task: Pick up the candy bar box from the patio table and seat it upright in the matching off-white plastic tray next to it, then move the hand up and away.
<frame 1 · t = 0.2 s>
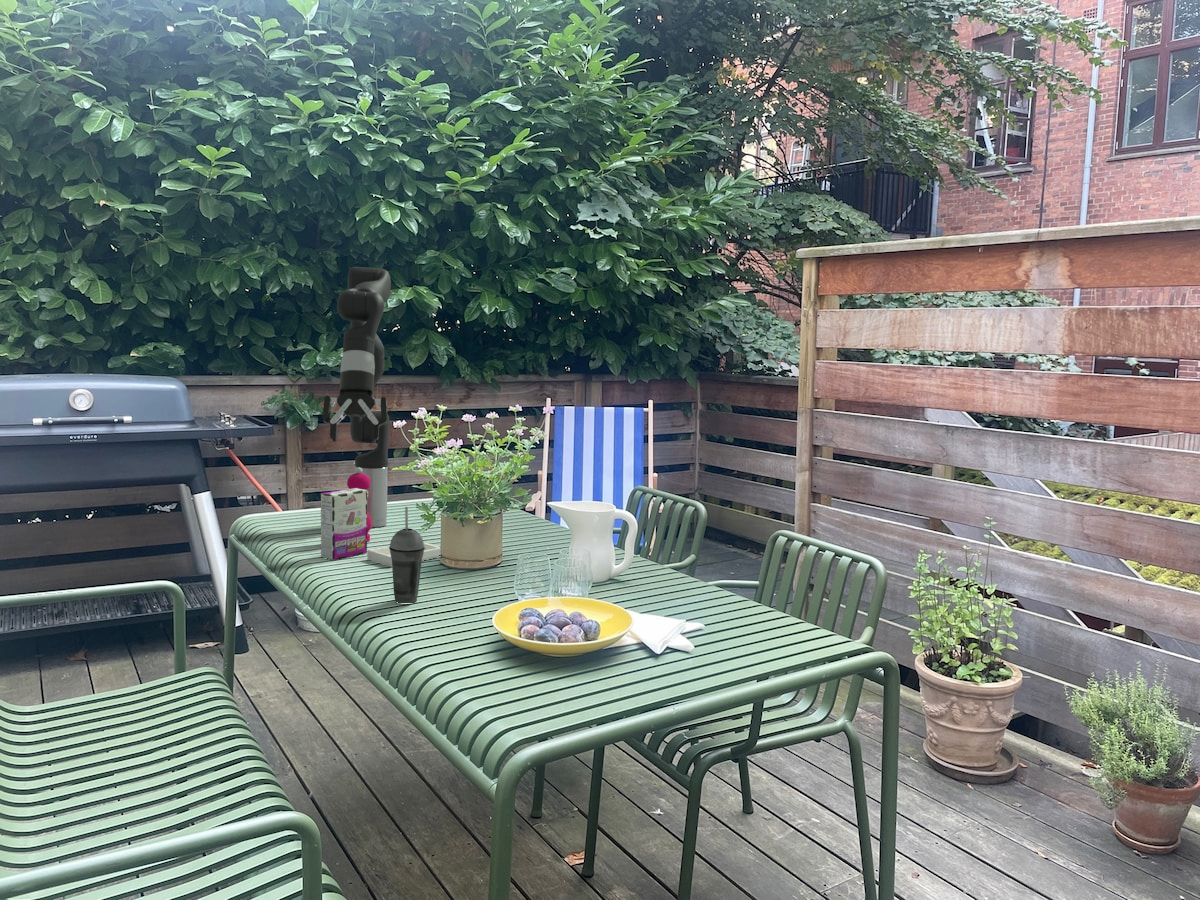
hand: (354, 441, 200), 31 cm above the table, tool tilted 20°, fingers open, 8 cm apart
candy bar box: (343, 556, 221), on the table
tray: (406, 558, 221), on the table
pepper mill: (357, 541, 237), on the table
beverage cup: (405, 602, 185), on the table
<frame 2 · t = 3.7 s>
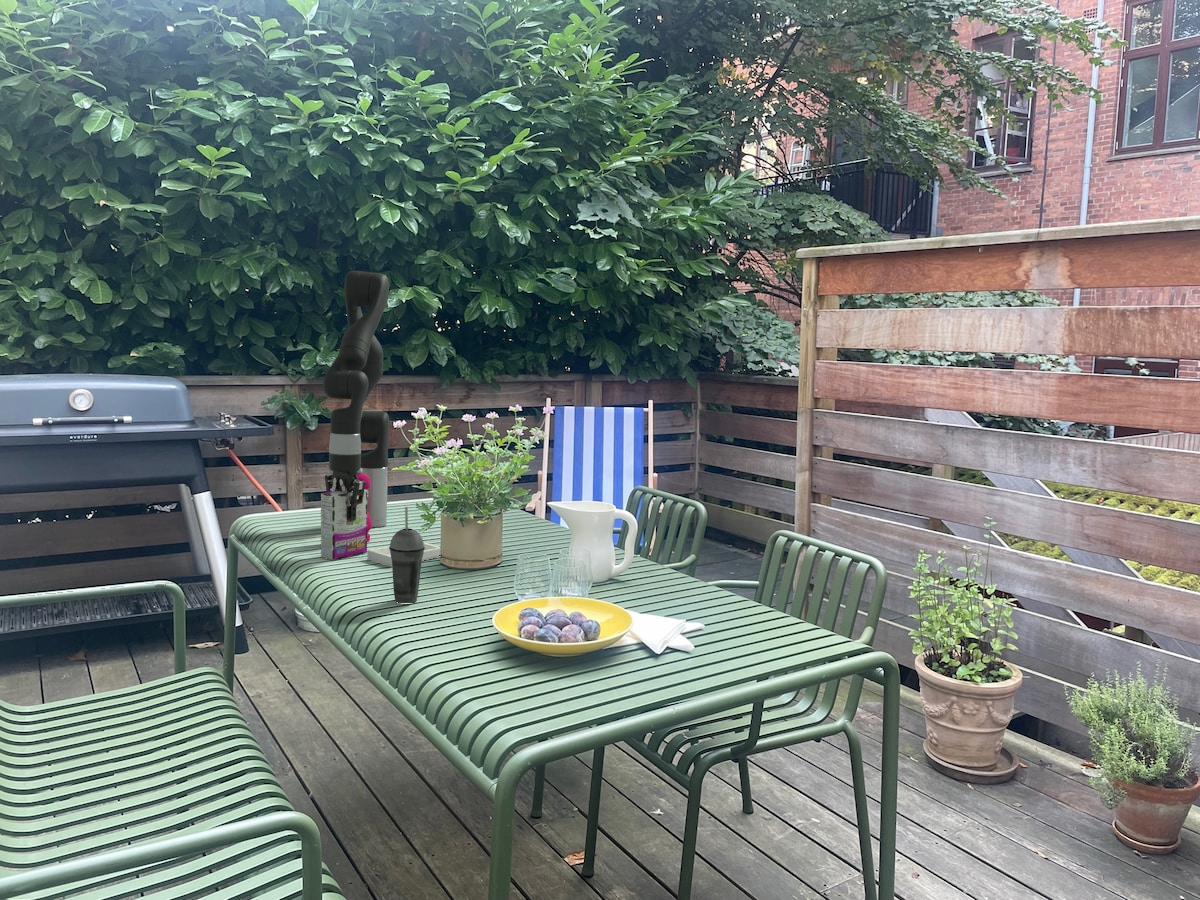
hand: (344, 518, 220), 9 cm above the table, tool pointing down, fingers closed on candy bar box, 5 cm apart
candy bar box: (343, 556, 221), on the table, touching gripper
everything else where it was.
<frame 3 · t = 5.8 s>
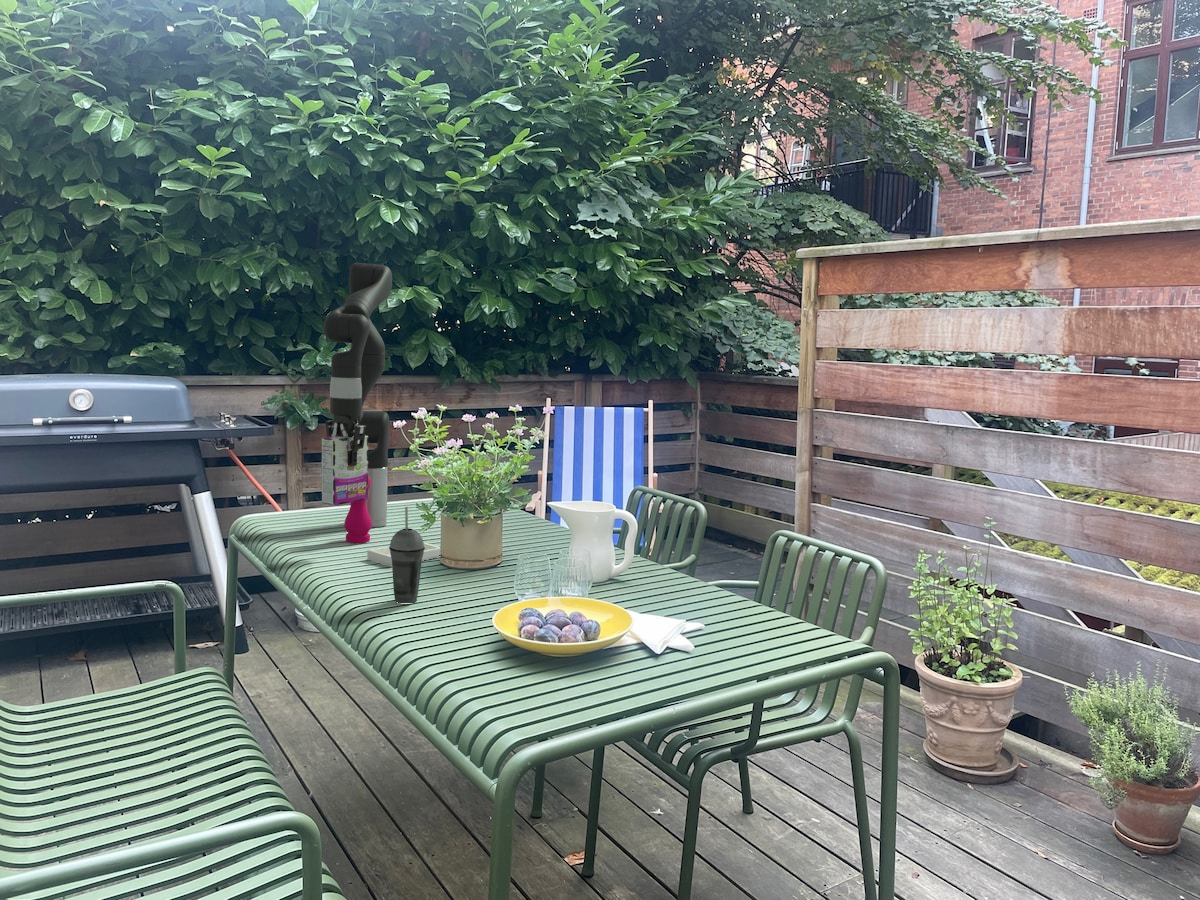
hand: (344, 463, 218), 23 cm above the table, tool pointing down, fingers closed on candy bar box, 5 cm apart
candy bar box: (344, 502, 220), point 13 cm above the table, touching gripper
everything else where it was.
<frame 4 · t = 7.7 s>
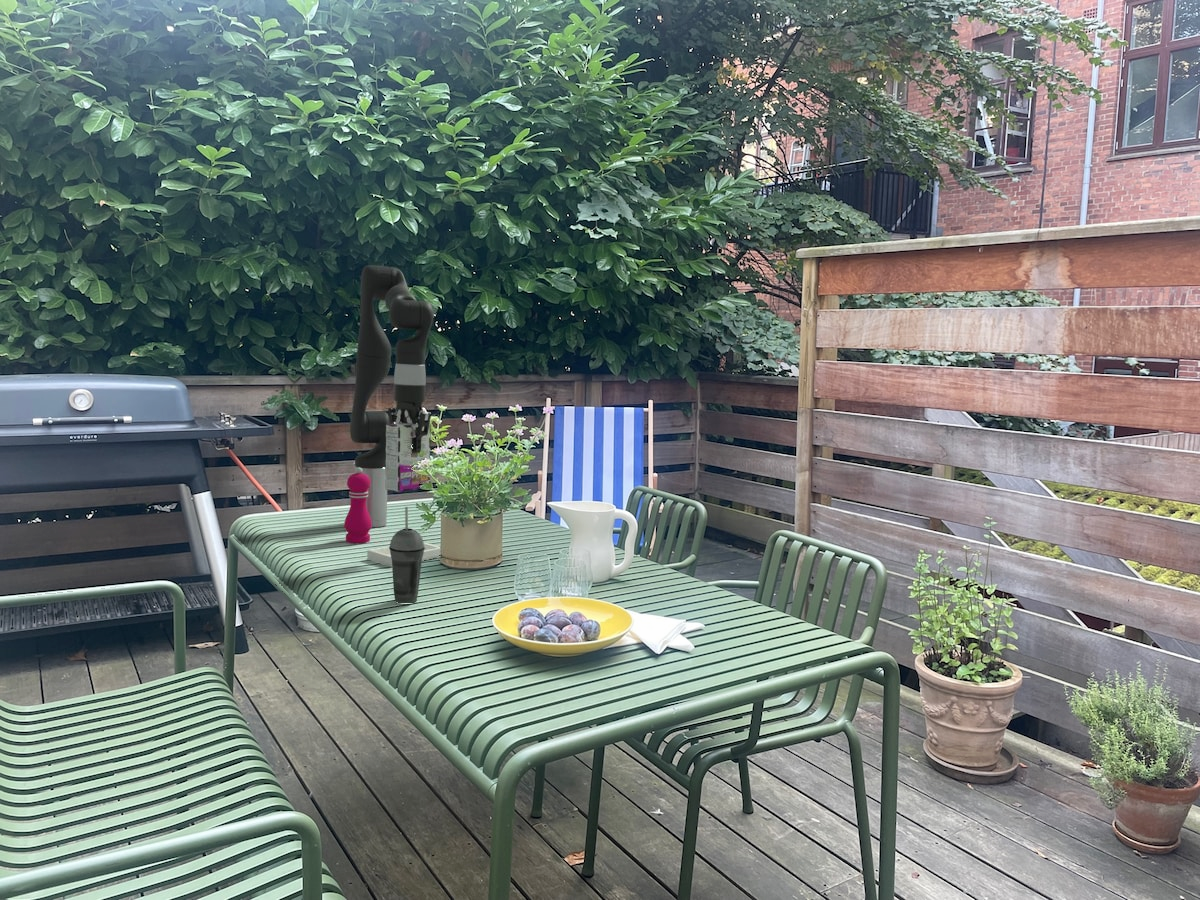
hand: (408, 451, 218), 27 cm above the table, tool pointing down, fingers closed on candy bar box, 5 cm apart
candy bar box: (407, 489, 219), point 17 cm above the table, touching gripper
everything else where it was.
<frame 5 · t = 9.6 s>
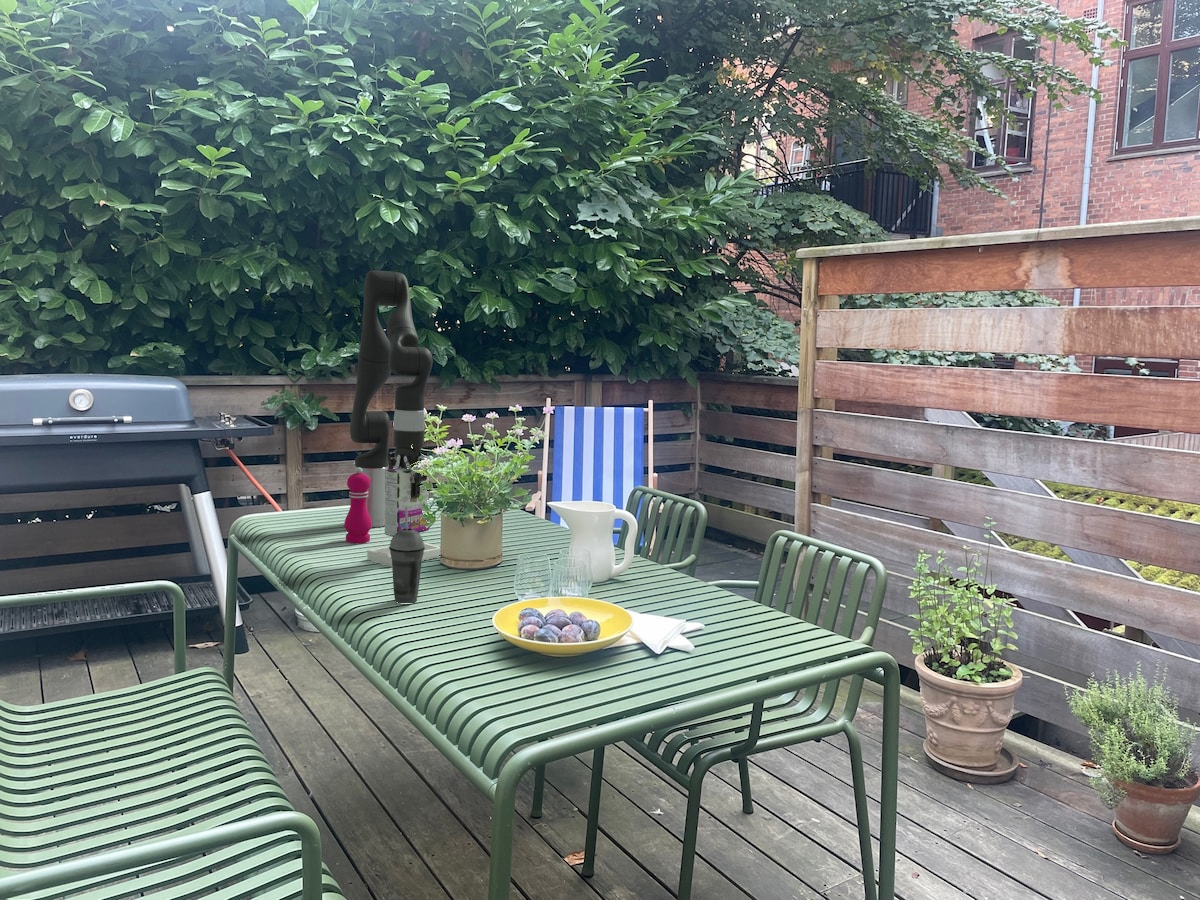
hand: (407, 495, 220), 16 cm above the table, tool pointing down, fingers closed on candy bar box, 5 cm apart
candy bar box: (406, 533, 221), point 6 cm above the table, touching gripper
everything else where it was.
when the fingers open (11 cm above the table, at t = 11.5 s): candy bar box drops 1 cm, resting on tray.
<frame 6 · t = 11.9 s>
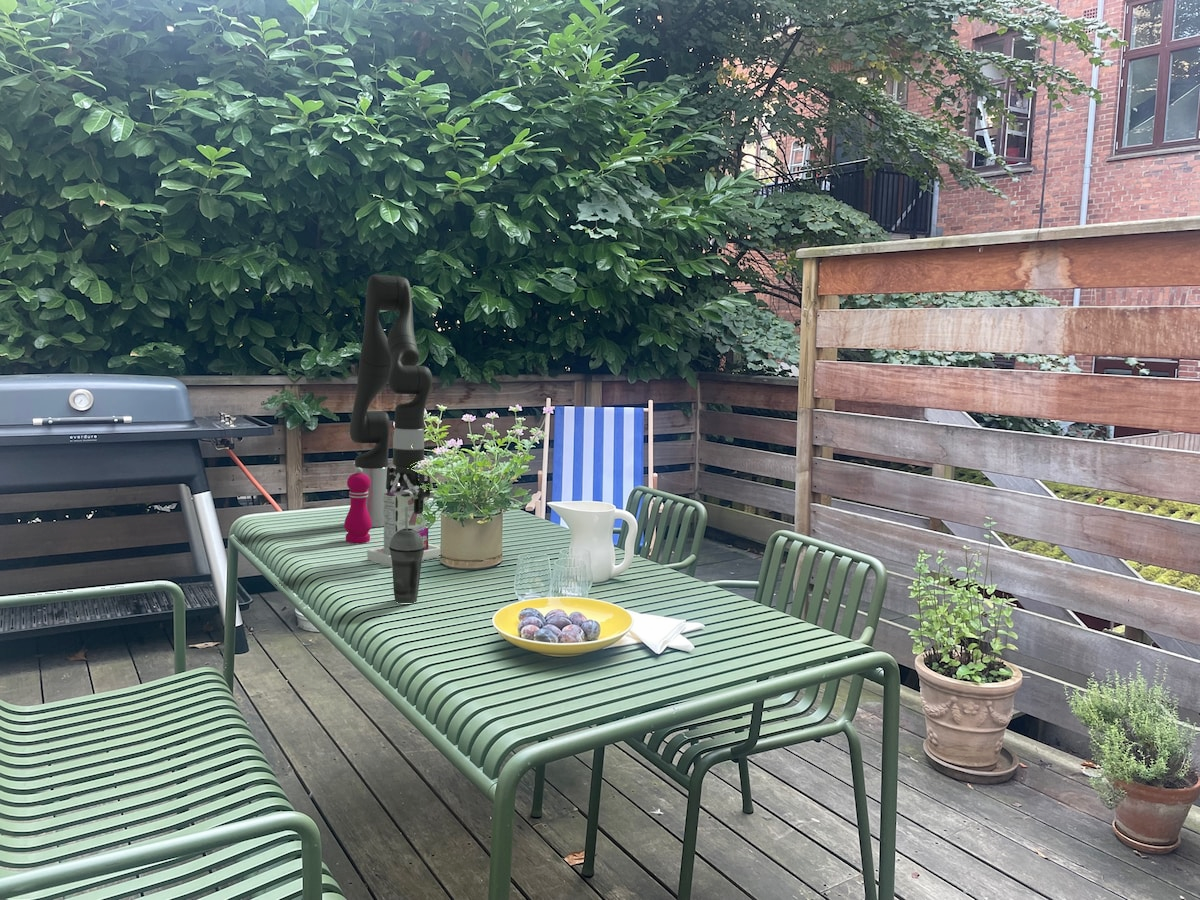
hand: (407, 510, 220), 12 cm above the table, tool pointing down, fingers open, 8 cm apart
candy bar box: (405, 556, 221), resting on tray
everything else where it was.
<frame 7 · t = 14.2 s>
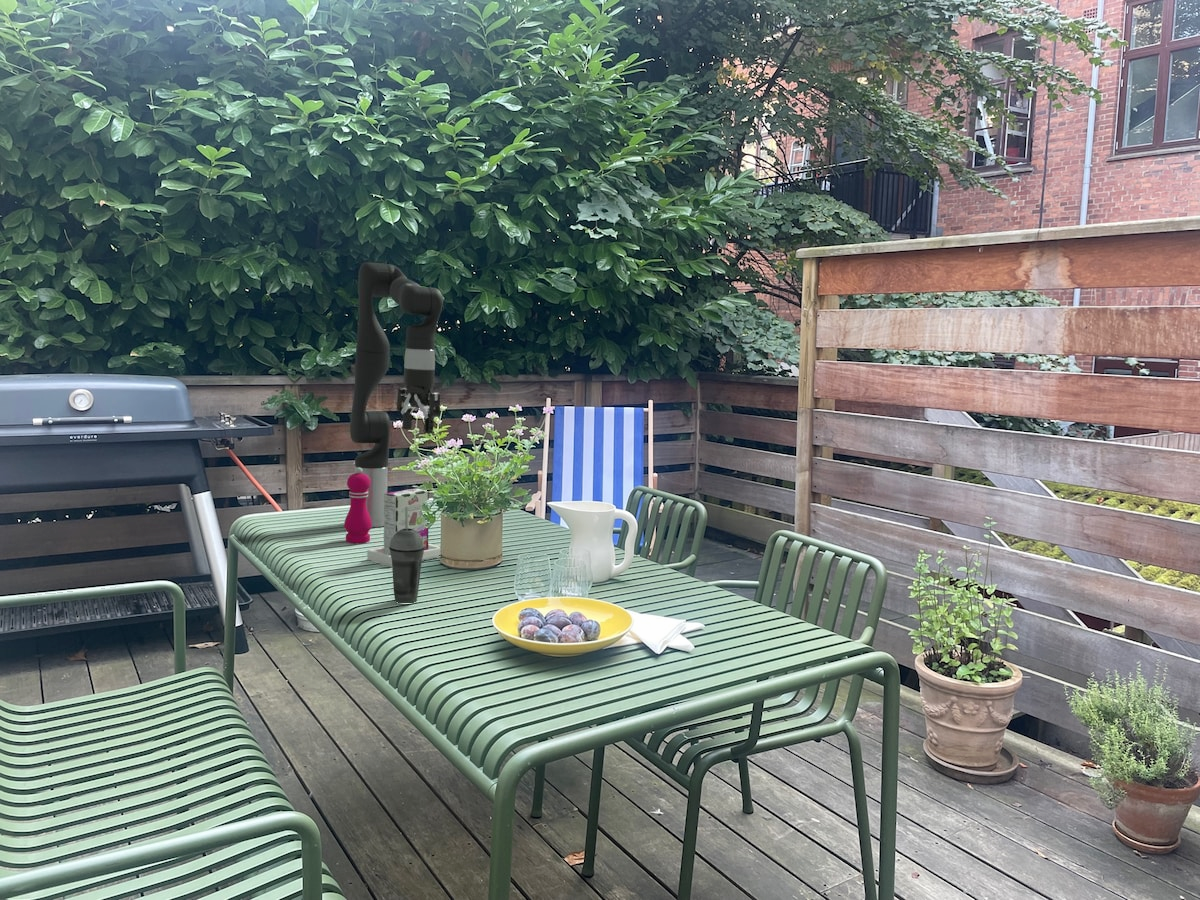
hand: (417, 431, 224), 32 cm above the table, tool pointing down, fingers open, 8 cm apart
nothing on the table moved.
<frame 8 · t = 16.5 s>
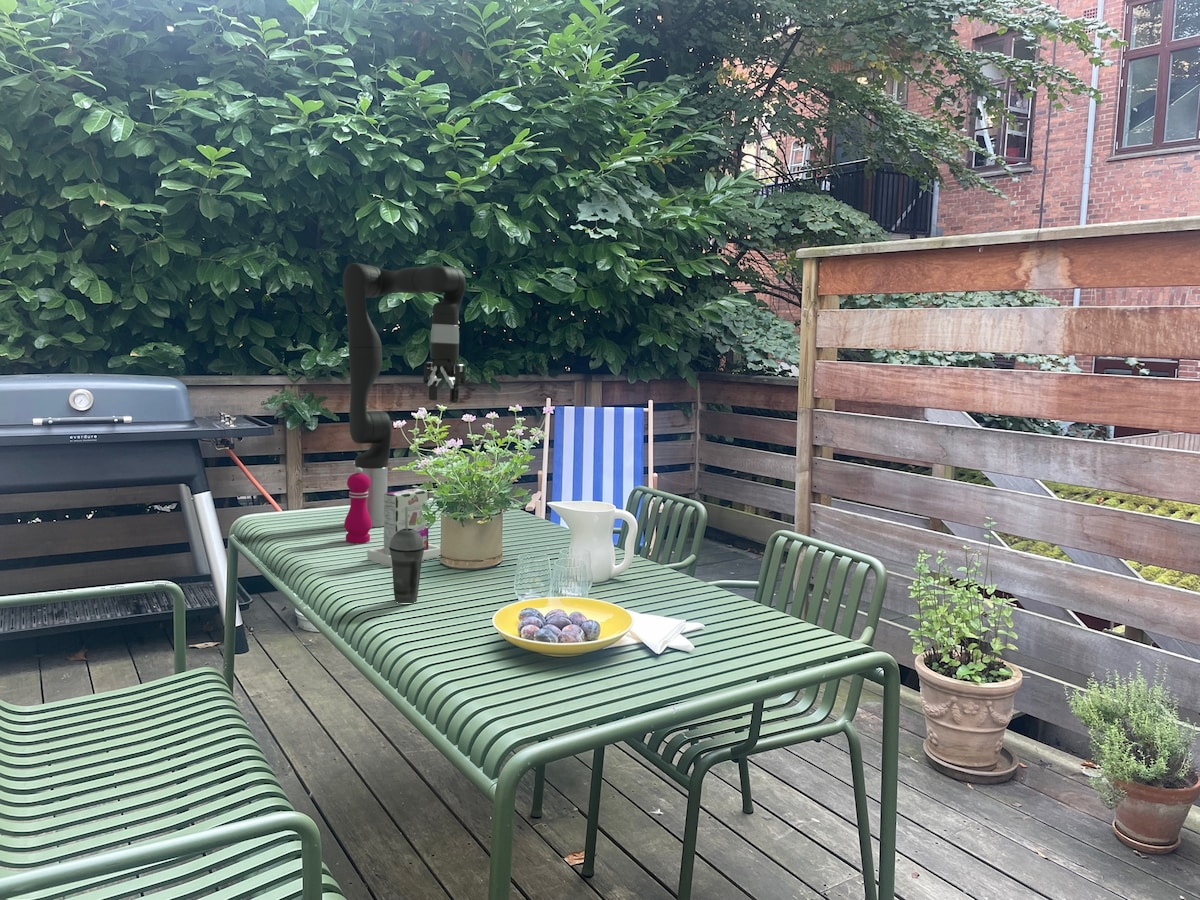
hand: (443, 401, 241), 38 cm above the table, tool pointing down, fingers open, 8 cm apart
nothing on the table moved.
at the end: candy bar box 0.2 cm off-centre on the tray, point 0.4 cm above the tray's base; candy bar box tilted 0°; the gripper is holding nothing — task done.
